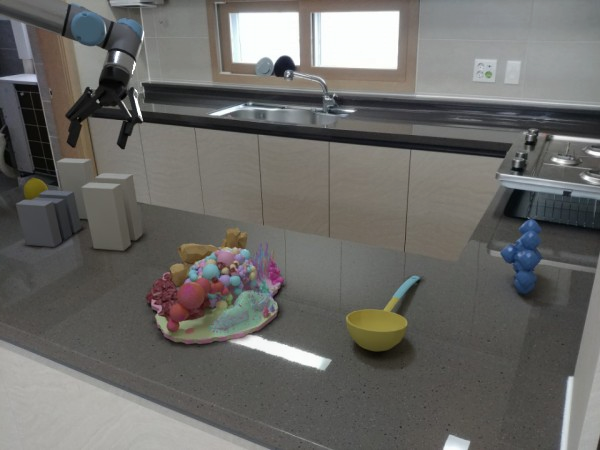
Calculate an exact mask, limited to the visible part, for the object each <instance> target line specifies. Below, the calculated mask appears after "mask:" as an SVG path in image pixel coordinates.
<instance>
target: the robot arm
mask: <svg viewBox="0 0 600 450" xmlns="http://www.w3.org/2000/svg"><path fill="white" fill-rule="evenodd" d="M0 17H3V18H6V19H9V20H11V21H12V20H13V21H14V22H18V23H22V24H25V25H26V26H30V27H33V28H37V29H38V30H39V29H40V30H43V31H46V32H48V33H52V34H53V35H54V34H55V35H58V36H60V37H63V38H66V39H68V40H72V41H74V42H77V43H79V44H81V45H83V46H86V47H97V48H101V50H105V51H107V52H106V55H105V58H104V62H103V64H102V69H101V72H100V74H99V78H98V86H97V87H96V88H95V89H94V88H91V87H90V86H86V87H85V89H84V90H83V93H82V94H81V96H80V97H79V98H78V99H77V100H76V101H75V103H74V104H73V105H72V106H71V107H70V108H69V109H68V111H67V112H66V113H65V114H64V117H65V118H66V119H67V120H68V121H69V122H70V123H69V125H68V128H67V132H68V136H67V139H66V144H67V145H69V147H71V148H72V149H76V148H77V144H78V141H79V138H80V134H81V131H82V128H83V124H81V123H83V122H84V121H85V120H86V119H88V118H89V117H90V116H91V115H92V114H93V113H96V112H97V110H98V109H99V110H100V109H102V108H103V107H104V108H107V107H112V108H116V106H118V107H119V110H120V111H121V113H122V115H123V116H124V118H125V120H122V123H121V126H120V130H119V133H118V138H117V141H116V146H118V148H120V149H121V150H125V149H126V146H127V142H128V138H129V137H131V136H132V134H133V131H134V128H135V126H136V125H142V124H143V123H144V120H143V116H142V112H141V108H140V104H139V93H138V91H137V90H136V88H135V87H134V86H131V83H132V78H133V76H134V73H135V69H136V67H137V66H136V65H137V63H138V60H139V56H140V54H141V53H140V52H141V51H142V46H143V42H144V36H145V30H144V28H143V26H142V25H141V24H140V23H139V22H137V21H136V20H134V19H132V18H130V19H128V18H127V17H124V18H123V17H122V18H120V19H118V20H117V21H113V20H110V19H108V18H107V17H104V16H103V15H101V14H98V13H97V12H94V11H93V10H90V9H89V8H86V7H84V6H82V5H79V4H77V3H74V2H70V3H68V2H65V1H63V0H0ZM127 97H128V99H129V103H130V107H131V111H132V114H131V113H130V111H129V110H128V108H127V105H126V104H125V103H124V100H125V99H126V98H127ZM97 101H98V102H97ZM132 115H133V116H132Z"/></svg>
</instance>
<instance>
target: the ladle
mask: <svg viewBox="0 0 600 450" xmlns="http://www.w3.org/2000/svg"><path fill="white" fill-rule="evenodd" d="M419 280H421V277H420V276H418V275H412V276H410V277H409V278H408V279H407V280H405V281H404V282H403V283H402V284H401V285H400V286H399V287H398V289H397V290H396V291H395V293H394V294H393V295H392V296H391V299H390V300H389V302H388V303H387V304H386V305H385V307H384V308H383V309H374V308H373V309H371V308H366V309H359V310H354V311H352V312H349V313H348V314H347V315H346V317H345V321H346V328H347V331H348V333H349V335H350V336H349V337H351V339H352V340H353V341H354V342H355V344H357V345H358V346H359V347H361V348H362V349H364V350H367V351H371V352H384V351H388V350H391V349H392V348H394V347H395V346H397V345H398V344H400V342H402V339H403V338H404V337H405V335H406V332H407V329H408V324H409V323H408V321H407V319H406V317H404V316H402V315H400V314H398V313H396V312H392V311H393V309H394V308H395V307H396V305H397V304H398V302H399V301H400V300H401V299H402V298H403V296H404V295H405V294H406V293H407V292H408V290H409V289H410V288H411V287H412V286H413V285H414V284H415V283H417V282H419Z"/></svg>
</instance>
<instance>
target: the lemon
mask: <svg viewBox="0 0 600 450" xmlns="http://www.w3.org/2000/svg"><path fill="white" fill-rule="evenodd" d="M46 190H49V188H48V186H47V185H46V183H45V182H44V181H43V180H42V179H39V178H35V177H31V178H30V179H29V180H27V181H26V182H25V183H24V186H23V195H24V198H25V200H32V199H34V198H36V197H39V194H40V193H42V192H44V191H46ZM39 198H40V197H39Z"/></svg>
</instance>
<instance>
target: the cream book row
mask: <svg viewBox="0 0 600 450" xmlns="http://www.w3.org/2000/svg"><path fill="white" fill-rule="evenodd" d="M94 179H95V183H91V182H90V183H88V184H86V185H84V186H83V187H81V188H82V193H83V198H84V203H85V208H86V213H87V218H88V219H87V223H88V227H89V228H88V229H89V233H90V238H91V242H92V247H93V249H94V250H95V249H96V250H107V251H121V252H124V251H125V250H127V249H128V248H129V247H130V246H132V243H131V241H133V242H134V241H137V240H138V239H140V238H141V237H142V236H143V230H142V224H141V217H140V212H139V206H138V199H137V194H136V188H135V181H134V174H132V173H131V174H130V173H111V172H102V173H100V174H99V175H97V176H94Z"/></svg>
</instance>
